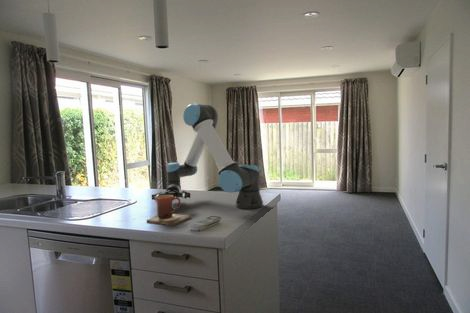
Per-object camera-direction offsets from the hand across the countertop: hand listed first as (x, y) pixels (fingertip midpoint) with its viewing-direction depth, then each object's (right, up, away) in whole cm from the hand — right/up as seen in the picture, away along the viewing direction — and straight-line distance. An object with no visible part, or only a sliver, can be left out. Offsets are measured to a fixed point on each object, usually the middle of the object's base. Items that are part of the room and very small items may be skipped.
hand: (169, 199), depth 168 cm
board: (+1, -9, -8) cm, 12 cm away
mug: (+1, -8, -8) cm, 11 cm away
